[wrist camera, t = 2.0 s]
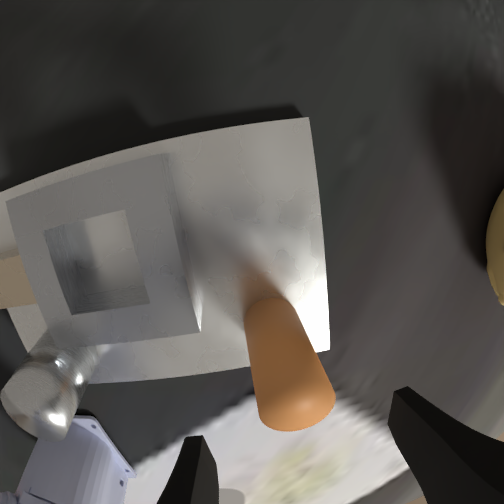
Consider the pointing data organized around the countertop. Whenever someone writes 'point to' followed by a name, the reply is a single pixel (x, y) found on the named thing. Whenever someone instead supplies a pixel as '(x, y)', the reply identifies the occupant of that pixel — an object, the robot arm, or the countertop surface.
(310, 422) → the round pin
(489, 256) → the yellow rounded lump
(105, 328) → the square frame peg fixture
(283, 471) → the countertop surface
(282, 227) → the grey base plate
